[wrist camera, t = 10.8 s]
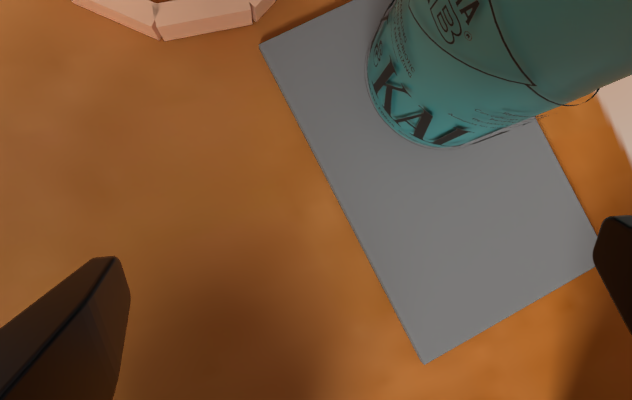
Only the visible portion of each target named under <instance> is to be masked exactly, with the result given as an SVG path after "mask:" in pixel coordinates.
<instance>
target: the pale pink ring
mask: <svg viewBox="0 0 632 400" xmlns="http://www.w3.org/2000/svg"><path fill="white" fill-rule="evenodd" d="M275 1H276V0H173V1H167V2H162V3H154V2H152V1H150V0H72V2H73V3H74V4H76V5H79V6H81V7H83V8H85V9H88V10H90V11H92V12H95V13H97V14H99V15H102V16H104V17H106V18H108V19H111V20H113V21H115V22H118V23H120V24H122V25H124V26H127V27H129V28H131V29H134V30H136V31H138V32H141V33H143V34H145V35H147V36H150V37H152V38H154V39H157V40H159V41H160V39H161V37H162V38H163V40H164V41H169V40H174V39H179V38H184V37H190V36H195V35H200V34H205V33H210V32H216V31H221V30H226V29H231V28H237V27H242V26H247V25H252V19H253V20H254V21H255V22H257V21H258V20H259V19H260V18H261V17H262V16H263V14H264V13H265V12H266V11H267V10H268V9H269V8H270V7H271V6H272V5H273V4H274V3H275Z"/></svg>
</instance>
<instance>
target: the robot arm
mask: <svg viewBox="0 0 632 400" xmlns="http://www.w3.org/2000/svg"><path fill="white" fill-rule="evenodd" d="M592 257H593V262H594V265H595V267H596V269H597V271H598V273H599V275H600V276H601V278H602V280H603V282H604V284H605V286H606V288H607V290H608V292H609V294H610V296H611V298H612V300H613V302H614V303H615V305H616V307H617V309H618V311H619V313H620V315H621V317H622V319H623V321H624V323H625V324H626V326H627V328H628V330H629V332H630V333H631V335H632V216H630V215H622V216H610V217H608V218H606V219H605V220H604V221H603V223H602V225H601V228H600V231H599V234H598V237H597V240H596V243H595V246H594V248H593V254H592ZM130 299H131V298H130V290H129V287H128V284H127V281H126V277H125V274H124V271H123V268H122V265H121V262H120V260H119V259H118V258H117V257H115V256H107V257H96V258H92V259H91V260H89V261H88V262H87V263H85V264H84V265H83V266H81V267H80V268H79V269H77V270H76V271H75V272H74V273H72V274H71V275H70V276H68V277H67V278H66V279H64V280H63V281H62V282H60V283H59V284H58V285H57V286H55V287H54V288H53V289H51V290H50V291H49V292H47V293H46V294H45V295H43V296H42V297H41V298H40V299H38V300H37V301H36V302H34V303H33V304H32V305H30V306H29V307H28V308H26V309H25V310H24V311H23V312H21V313H20V314H19V315H17V316H16V317H15V318H13V319H12V320H11V321H9V322H8V323H7V324H6V325H4V326H3V327H2V328H0V400H113V396H114V393H115V389H116V385H117V381H118V376H119V371H120V365H121V359H122V352H123V346H124V340H125V334H126V327H127V321H128V315H129V308H130Z"/></svg>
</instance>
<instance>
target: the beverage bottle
mask: <svg viewBox="0 0 632 400" xmlns="http://www.w3.org/2000/svg"><path fill="white" fill-rule="evenodd" d="M391 1H392V0H391ZM394 1H395V0H393V1H392V3H391V2H390V3H391V4H389V5H390V6H388V8H387V10H388V9H389V8H390V7H391V6H392V5H393V7H392V8H391V9H390V10H391V11H390V10H389V11H388V12H389V13H388V14H387V16H385V14H386V12H387V10H386V11H385V13H384V16H385V17H384V16H383V18H381V20H380V23H379V27H378V29H377V31H376V33H375V36H374V38H373V41H372V43H371V48H370V53H369V58H368V57H367V58H368V61H367V62H368V65H367V64H366V66H367V80H368V86H369V91H370V95H371V98H372V101H373V103H374V105H375V107H376V109H377V110H376V109H375V110H376V111H378V112H379V114H380V115H381V116H380V115H379V114H378V115H379V116H380V117H381V118H383V119H384V120H385V121H384V120H383V119H382V120H383V121H384V122H385V123H386V124H387V125H388V126H389V127H390V128H391V129H392V130H393V129H394V130H395V131H396V132H397V134H398V133H399V134H400V135H402V136H403V137H405V138H407V139H409V140H411V141H413V142H415V143H418V144H422V145H425V146H430V147H435V148H436V147H437V148H438V147H439V148H440V147H441V148H442V149H444V148H443V147H457V146H461V145H463V144H466V143H468V142H470V141H473V140H475V139H478V138H480V137H483V136H486V135H488V134H490V135H491V134H492V133H493V132H496V131H498V130H501V129H503V128H509V127H508V126H511V125H513V124H515V125H517V124H516V123H518V122H521V121H523V120H527V119H528V118H531V117H534V116H535V117H536V115H538V114H541V113H544V112H546V111H549V110H551V109H554V108H556V107H559V106H561V105H562V106H574V105H564V104H566V103H569V102H571V101H574V100H576V99H578V98H581V97H583V96H586V95H588V94H590V93H592V92H593V91H595V90H597V91H596V93H597V92H598V90H599V89H600V88H601V87H603V86H605V85H608V84H610V83H613V82H615V81H618V80H620V79H622V78H625V77H627V76H630V75H632V0H396V2H395V4H393V2H394ZM384 20H385V21H384ZM382 21H384V23H383V25H382V27H381V28H380V25H381V22H382ZM377 26H378V25H377ZM376 28H377V27H376ZM379 28H380V30H379ZM378 30H379V32H378ZM374 32H375V31H374ZM377 33H378V34H377ZM373 34H374V33H373ZM376 35H377V36H376ZM372 36H373V35H372ZM371 39H372V38H371ZM368 50H369V48H368ZM366 53H367V52H366ZM367 54H368V53H367ZM367 56H368V55H367ZM365 59H366V57H365ZM365 82H366V79H365ZM366 88H367V85H366ZM367 91H368V89H367ZM596 93H595V94H596ZM368 94H369V93H368ZM595 94H594V95H595ZM594 95H593V96H592V97H591V98H593V97H594ZM369 97H370V96H369ZM371 98H370V100H371ZM591 98H590V99H591ZM590 99H589V100H590ZM372 101H371V102H372ZM587 101H588V100H587ZM587 101H586V102H587ZM373 103H372V104H373ZM581 104H582V103H581ZM374 105H373V106H374ZM578 105H579V104H578ZM375 107H374V108H375ZM378 112H377V113H378ZM541 116H543V115H541ZM537 117H538V116H537ZM546 117H547V116H546ZM541 118H542V117H541ZM534 119H535V118H534ZM528 120H529V119H528ZM530 120H531V119H530ZM532 120H533V119H532ZM523 122H524V121H523ZM527 122H528V121H527ZM528 123H530V122H528ZM526 124H527V123H524V124H523V126H524V125H526ZM518 125H519V124H518ZM519 126H520V125H519ZM510 128H511V127H510ZM394 130H393V131H394ZM395 131H394V132H395ZM509 131H510V130H509ZM396 132H395V133H396ZM505 132H508V131H504V132H499V133H498V134H496V135H493V136H491V137H488V136H487V137H488V138H485V139H483V140H480V141H478V142H481V141H484V140H486V139H489V138H492V137H494V136H497V135H500V134H503V133H505ZM399 134H398V135H399ZM400 135H399V136H400ZM402 136H401V137H402ZM403 137H402V138H403ZM405 138H404V139H405ZM407 139H406V140H407ZM407 141H408V140H407ZM409 142H410V141H409ZM478 142H475V143H472V144H476V143H478ZM411 143H412V142H411ZM415 143H413V144H415ZM416 145H417V144H416ZM470 145H471V144H470ZM418 146H420V145H418ZM466 146H467V145H466ZM466 146H465V147H466ZM421 147H423V146H421ZM465 147H464V148H465ZM425 148H426V147H425ZM459 148H460V147H459ZM429 149H431V148H429ZM445 149H446V148H445ZM448 149H449V148H448ZM452 149H453V150H456V149H454V148H452ZM435 150H437V149H435Z"/></svg>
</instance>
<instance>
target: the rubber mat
mask: <svg viewBox="0 0 632 400" xmlns="http://www.w3.org/2000/svg"><path fill="white" fill-rule="evenodd" d="M392 1H393V0H392ZM392 1H391V0H353V1H351V2H349V3H346V4H344V5H342V6H340V7H338V8H336V9H334V10H331V11H329V12H327V13H325V14H323V15H321V16H319V17H317V18H314V19H312V20H310V21H308V22H306V23H304V24H302V25H299V26H297V27H295V28H293V29H291V30H289V31H287V32H284V33H282V34H280V35H278V36H276V37H274V38H272V39H270V40H267V41H265V42H263V43H261V44H259V49H260V51H261V53H262V55H263V57H264V59H265V61H266V63H267V65H268V67H269V69H270V71H271V73H272V74H273V76H274V78H275V80H276V82H277V84H278V86H279V88H280V90H281V92H282V94H283V96H284V98H285V100H286V102H287V104H288V105H289V107H290V109H291V111H292V113H293V115H294V117H295V119H296V121H297V123H298V125H299V127H300V129H301V131H302V133H303V134H304V136H305V138H306V140H307V142H308V144H309V146H310V148H311V150H312V152H313V154H314V156H315V158H316V160H317V162H318V163H319V165H320V167H321V169H322V171H323V173H324V175H325V177H326V179H327V181H328V183H329V185H330V187H331V189H332V191H333V193H334V194H335V196H336V198H337V200H338V202H339V204H340V206H341V208H342V210H343V212H344V214H345V216H346V218H347V220H348V222H349V223H350V225H351V227H352V229H353V231H354V233H355V235H356V237H357V239H358V241H359V243H360V245H361V247H362V249H363V251H364V252H365V254H366V256H367V258H368V260H369V262H370V264H371V266H372V268H373V270H374V272H375V274H376V276H377V278H378V280H379V281H380V283H381V285H382V287H383V289H384V291H385V293H386V295H387V297H388V299H389V301H390V303H391V305H392V307H393V309H394V311H395V312H396V314H397V316H398V318H399V320H400V322H401V324H402V326H403V328H404V330H405V332H406V334H407V336H408V338H409V340H410V341H411V343H412V345H413V347H414V349H415V351H416V353H417V355H418V357H419V359H420V361H421V362H422V363H423V364H424V365H425V364H427V363H429V362H430V361H432V360H434V359H436V358H437V357H439V356H441V355H442V354H444V353H446V352H448V351H449V350H451V349H453V348H455V347H456V346H458V345H460V344H462V343H463V342H465V341H467V340H469V339H470V338H472V337H474V336H476V335H477V334H479V333H481V332H482V331H484V330H486V329H488V328H489V327H491V326H493V325H495V324H496V323H498V322H500V321H502V320H503V319H505V318H507V317H509V316H510V315H512V314H514V313H516V312H517V311H519V310H521V309H522V308H524V307H526V306H528V305H529V304H531V303H533V302H535V301H536V300H538V299H540V298H542V297H543V296H545V295H547V294H549V293H550V292H552V291H554V290H556V289H557V288H559V287H561V286H562V285H564V284H566V283H568V282H569V281H571V280H573V279H575V278H576V277H578V276H580V275H582V274H583V273H585V272H587V271H589V270H590V269H592V268H594V267H595V265H594V262H593V257H592V254H593V248H594V246H595V243H596V240H597V235H596V233H595V231H594V230H593V228H592V226H591V224H590V222H589V220H588V218H587V216H586V214H585V212H584V210H583V208H582V206H581V205H580V203H579V201H578V199H577V197H576V195H575V193H574V191H573V189H572V187H571V185H570V183H569V182H568V180H567V178H566V176H565V174H564V172H563V170H562V168H561V166H560V164H559V162H558V160H557V158H556V157H555V155H554V153H553V151H552V149H551V147H550V145H549V143H548V141H547V139H546V137H545V135H544V134H543V132H542V130H541V128H540V126H539V124H538V122H537V120H536V118H535V116H534V117H531V118H528V119H529V120H528V119H527V120H523V121H524V122H523V121H521V122H518V123H516V124H517V125H515V124H513V125H511V126H508V127H509V128H503V129H501V130H498V131H496V132H493V133H492V134H491V135H490V134H488V135H486V136H483V137H480V138H478V139H475V140H473V141H470V142H468V143H466V144H463V145H461V146H457V147H443V148H444V149H442V148H441V147H440V148H439V147H438V148H437V147H436V148H435V147H430V146H425V145H422V144H418V143H415V142H413V141H411V140H409V139H407V138H405V137H403V136H402V135H400V134H399V133H398V134H399V135H400V136H399V135H398V134H397V132H396V131H395V130H394V129H393V130H394V131H395V132H396V133H395V132H394V131H393V130H392V129H391V128H390V127H389V126H388V125H387V124H386V123H385V122H384V121H385V120H384V119H383V118H381V117H380V116H381V115H380V114H379V112H378V111H376V110H377V109H376V107H375V105H374V103H373V101H372V98H371V95H370V91H369V86H368V80H367V66H366V64H367V65H368V62H367V61H368V58H369V53H370V48H371V43H372V41H373V38H374V36H375V33H376V31H377V29H378V27H379V23H380V20H381V18H383V16H384V13H385V11H386V10H387V8H388V6H390V5H389V4H391V3H392ZM390 2H391V3H390ZM395 2H396V0H395V1H394V2H393V4H395ZM392 7H393V5H392V6H391V7H390V8H389V9H388V10H387V12H386V14H385V16H387V14H388V13H389V12H388V11H389V10H390V9H391V8H392ZM390 11H391V10H390ZM385 16H384V17H385ZM384 21H385V20H384ZM384 21H382V22H381V25H380V28H381V27H382V25H383V23H384ZM377 25H378V26H377ZM376 27H377V28H376ZM380 28H379V30H380ZM379 30H378V32H379ZM374 31H375V32H374ZM373 33H374V34H373ZM377 34H378V33H377ZM372 35H373V36H372ZM376 36H377V35H376ZM371 38H372V39H371ZM368 48H369V50H368ZM366 52H367V53H368V54H367V53H366ZM367 55H368V56H367ZM365 57H366V59H365ZM367 57H368V58H367ZM365 79H366V82H365ZM366 85H367V88H366ZM367 89H368V91H367ZM368 93H369V94H368ZM369 96H370V97H369ZM370 98H371V100H370ZM371 101H372V102H371ZM372 103H373V104H372ZM373 105H374V106H373ZM374 107H375V108H374ZM375 109H376V110H375ZM377 112H378V113H377ZM378 114H379V115H380V116H379V115H378ZM534 118H535V119H534ZM382 119H383V120H384V121H383V120H382ZM530 119H531V120H530ZM532 119H533V120H532ZM527 121H528V122H530V123H528V122H527ZM524 123H527V124H526V125H524V126H523V124H524ZM518 124H519V125H520V126H519V125H518ZM510 127H511V128H510ZM509 130H510V131H509ZM504 131H508V132H505V133H503V134H500V135H497V136H494V137H492V138H489V139H486V140H484V141H481V142H478V141H480V140H483V139H485V138H488V137H491V136H493V135H496V134H498V133H499V132H504ZM401 136H402V137H403V138H402V137H401ZM487 136H488V137H487ZM404 138H405V139H404ZM406 139H407V140H408V141H407V140H406ZM409 141H410V142H409ZM411 142H412V143H411ZM475 142H478V143H476V144H472V143H475ZM413 143H415V144H413ZM416 144H417V145H416ZM470 144H471V145H470ZM418 145H420V146H418ZM466 145H467V146H466ZM421 146H423V147H421ZM465 146H466V147H465ZM425 147H426V148H425ZM459 147H460V148H459ZM464 147H465V148H464ZM429 148H431V149H429ZM445 148H446V149H445ZM448 148H449V149H448ZM452 148H454V149H456V150H453V149H452ZM435 149H437V150H435Z"/></svg>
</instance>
